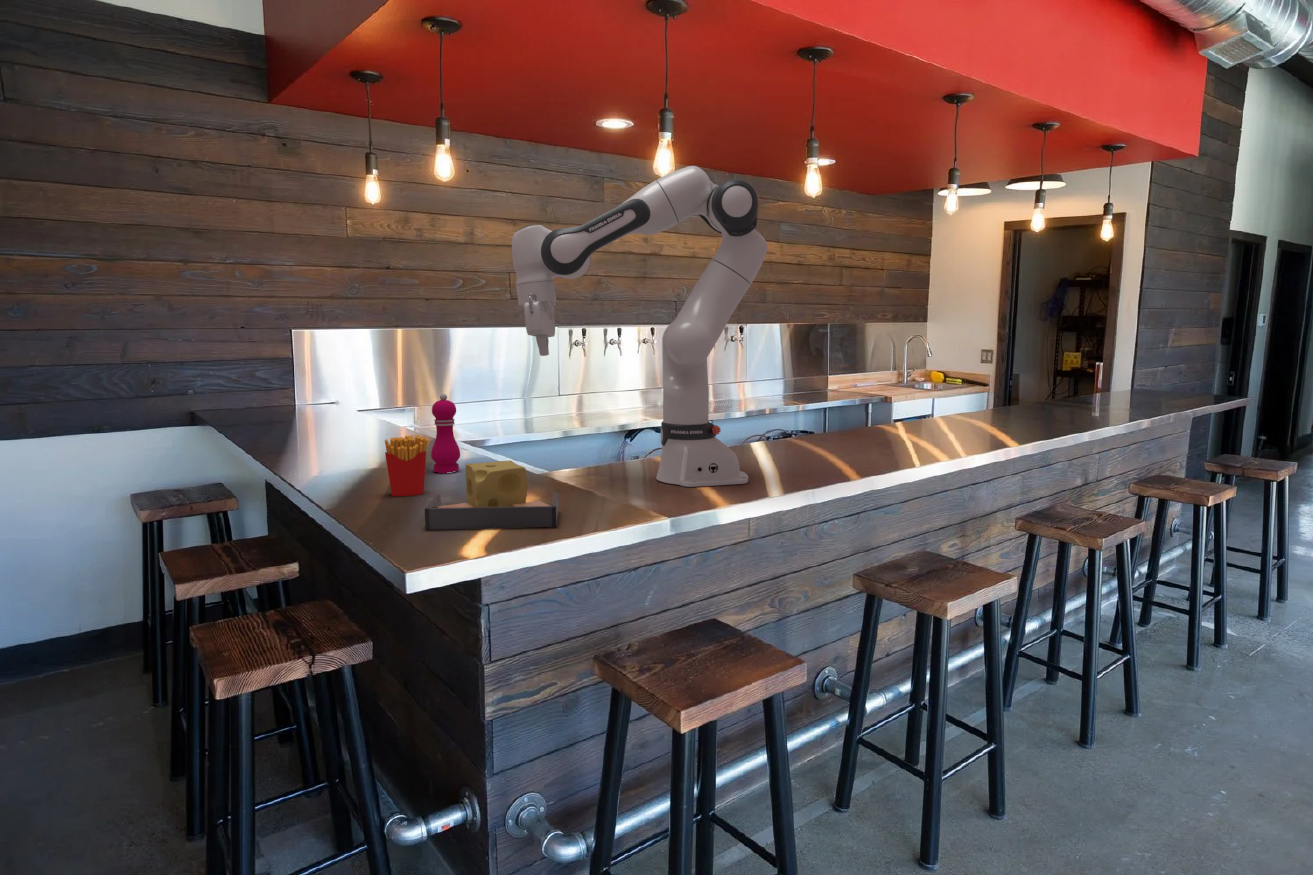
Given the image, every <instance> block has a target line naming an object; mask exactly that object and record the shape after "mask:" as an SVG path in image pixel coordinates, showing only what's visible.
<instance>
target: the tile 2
mask: <svg viewBox="0 0 1313 875" xmlns="http://www.w3.org/2000/svg"><path fill="white" fill-rule="evenodd" d="M521 506H551V505H550V504H547V503H545V502H543V501H541V500H536V501H528V502H527V501H526V503H519V504H512V507H521Z"/></svg>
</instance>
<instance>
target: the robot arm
mask: <svg viewBox="0 0 1313 875" xmlns="http://www.w3.org/2000/svg"><path fill="white" fill-rule="evenodd" d="M757 194H758V193H757V192H756V190H755V189H754V187H753V186H752V185H751V184H750V183H748V182H747V181H745V180H743V179H737V178H734V179H733V178H732V179H727V180H725V181H723V182H721V183H720V184H716V183H713V182H712V181H711V179H710V177H709V176H708V174H707V173H706V171H704V170H703V169H702V168H701V167H699V166H697V165H688V166H686V167H682V168H679V169H677V170H674V171H672V172H670V173H667V174H665V175H663V176H661V177H660V178H657V179H656V180H654V181H652V182H650V183H649V184H647V185H645V186H644V187H643V188H640V189H639V191H637V192H636V193H634V194H633V195H632V196H631V197H629V198H628V199H626V200H625V201H623V202H622V203H620V204H619V205H617V206H616V207H614V208H611V210H609V211H607V212H604V213H603V214H601V215H599V216H596V217H595V218H593V219H591V220H588V221H587V222H585V223H583V224H580V225H577V226H569V227H561V228H556V229H554V230H550V229H549V228H546V227H545V226H544V225H542V224H531V225H530V224H529V225H526V226H523V227H521V228H519V229H518V230H516V231H515V233H514V234H513V235H512V238H511V254H512V256H511V257H512V264H513V268H514V271H515V275H516V282H515V288H516V295H517V302H518V306H519V307H523V309H524V310H523V312H524V320H525V321H524V322H525V330H526V333H527V335H528V336H532V337H535V339H536V345H537V347H538V352H539V356H541V357H546V356H549V354H550V352H549V351H550V350H549V338H552V337H553V338H554V337H555V335H556V317H555V315H556V314H555V306H556V305H557V303H556V302H557V295H556V290H555V289H556V287H555V281H554V280H555V278H560V279H562V278H563V279H566V280H567V279H568V280H573V279H577V278H580V277H582V276H584V275H585V274H586V273H587V272H588V270H589V269H590V266H591V263H592V262H591V261H592V257H591V255H593V254H594V253H595V252H597V251H598V250H600V249H602V248H604V247H606V246H608V245H610V244H611V243H613V242H616V241H617V240H619V239H621V238H623V237H626V236H628V235H629V236H630V235H633V234H635V235H636V234H641V235H647V236H652V235H656V234H659V233H661V232H664V231H667V230H669V229H671V228H673V227H675V226H676V225H678V224H680V223H682V222H683V221H685V220H687V219H689V218H691V217H693V216H697V215H698V216H699V217H700V218H701V219H702V220H703V221H704V222H705V223H706V224H707V225H708V227H709V228H711V229H712V230H713V231H715V232H717V233H720V234H721V242H720V245H719V246H718V249H717V250H716V252H715V254H714V255H713V257H712V258H711V260H710V261H709V262H708V265H707V266H706V268H705V270H704V271H703V272H702V273H701V275H700V277H699V279H698V280H697V282H696V283H695V285H694V287H693V288H692V290H691V291H690V293H689V295H688V297H687V299H686V300H685V302H684V304H683V306H682V308H681V309H680V311H679V312H678V314H677V316H676V317H675V319H674V320H673V321H672V322H671V323H670V324H668V325H667V326H666V328H665V329H664V332H663V334H662V338H661V339H662V340H661V341H662V342H661V343H662V344H661V346H662V350H661V352H662V353H661V354H662V356H661V358H662V391H663V392H662V398H663V399H662V400H663V402H662V421H661V424H660V425H661V426H660V444H661V454H660V460H659V466H658V469H657V470H658V471H657V474H656V477H655V479H656V480H657V481H659V482H662V483H665V484H671V485H679V486H682V487H686V488H695V487H712V486H713V487H714V486H726V485H727V486H729V485H730V486H731V485H743V484H747V483H748V482H749V476H748V474H747V473H746V472H744V471H742V470H740V469H741V468H740V463H739V459H738V455H737V454H736V453H735V452H734V451H733V449H731V448H730V447H728V446H727V445H726V444H725V443H724V442H722V441H721V440H720V439H719V438H718V437H716V436H717V435H719V434H720V433H721V431H722V430H721V427H720V426H719V425H717V424H716V425H715V424H714V423H712V422H710V421H709V410H710V409H709V405H710V404H709V403H710V401H709V399H710V395H709V394H710V393H709V392H710V389H709V387H710V386H709V374H708V357H709V355H710V354H711V352H712V350H713V349H714V347H715V345H717V344H716V343H717V342H718V340H719V339H720V337H721V335H722V333H723V331H724V330H725V328H726V326H727V324H728V323H729V321H730V318H731V316H732V315H733V313H735V312H734V311H735V310H736V309H737V307H738V305H739V304H740V302H741V301H742V299H743V298H744V296H745V295H746V293H747V292H748V290H749V288H750V287H751V285H752V284H753V282H754V280H755V279H756V277H757V275H758V273H759V271H760V269H761V268H762V265H763V263H764V261H765V258H766V256H767V253H768V243H767V241H766V239H765V238H764V236H763V235H762V234H761V233H760V232H758V230H756V228H757V226H758V214H759V212H758V211H759V198H758V195H757Z"/></svg>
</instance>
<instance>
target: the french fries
mask: <svg viewBox="0 0 1313 875" xmlns="http://www.w3.org/2000/svg"><path fill="white" fill-rule="evenodd" d="M389 439H390V440H388V439H384V444H385V448H386V449H385V450H386V451H385V452H384V454H385V460H386V467H387V474H388V479H389V480H388V481H389V486H390V492H391V497H408V496H420V495H423V493H424V492H425V480H426V478H425V477H426V459H427V458H426V457H427V451H426V450H427V446H428V442H429V440H428V438H427V437H426V436H424V437H423V436H420V435H415V436H413V435H404V437H401V436H400V437H397V436H395V437H390V438H389ZM389 441H390V442H389Z"/></svg>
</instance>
